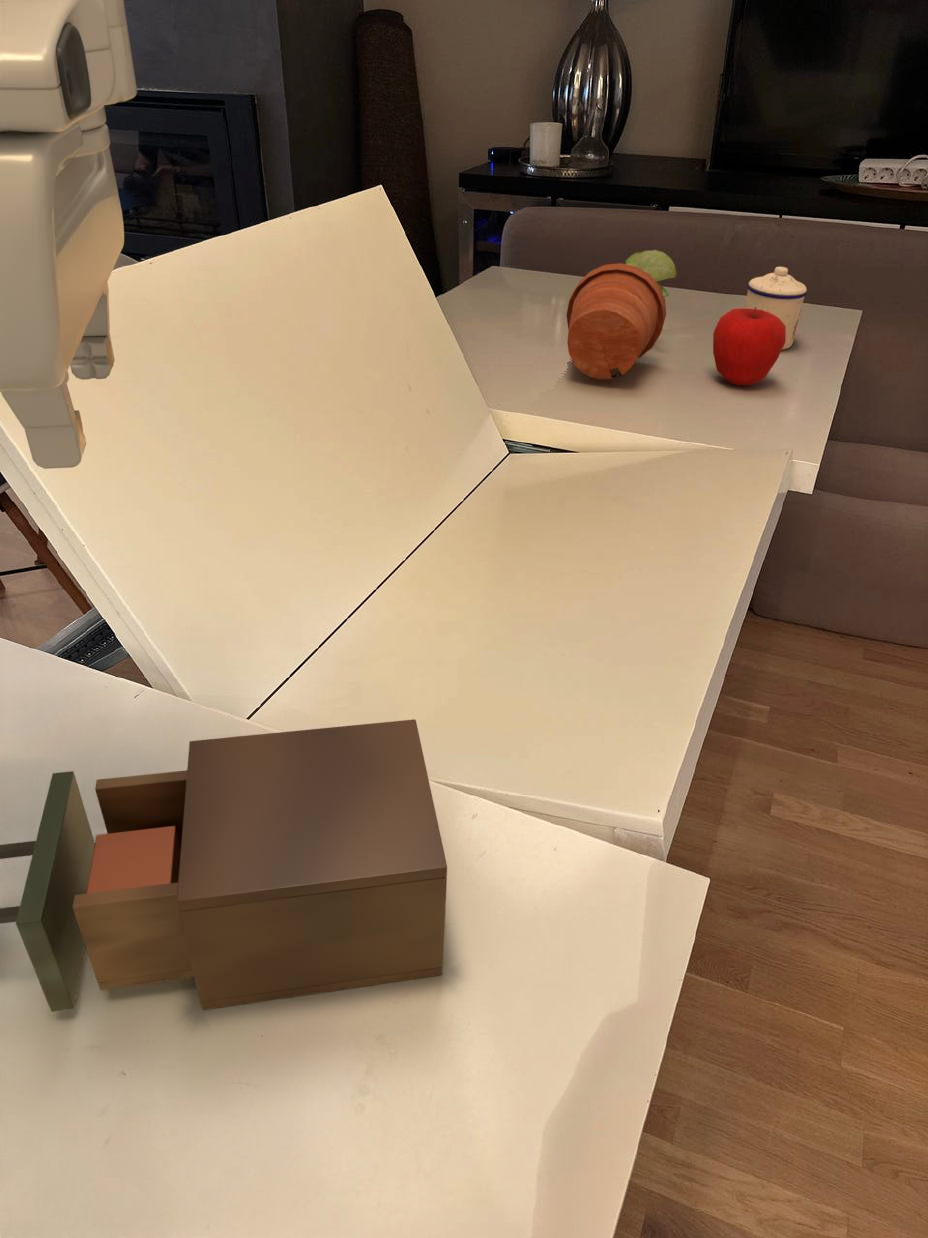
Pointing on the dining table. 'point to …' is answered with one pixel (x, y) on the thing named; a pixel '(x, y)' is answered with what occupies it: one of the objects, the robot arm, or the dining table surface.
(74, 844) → the drawer
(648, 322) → the potted plant
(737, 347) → the apple
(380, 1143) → the dining table surface
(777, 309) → the teacup with lid
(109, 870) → the block
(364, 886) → the cabinet
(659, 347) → the dining table surface
